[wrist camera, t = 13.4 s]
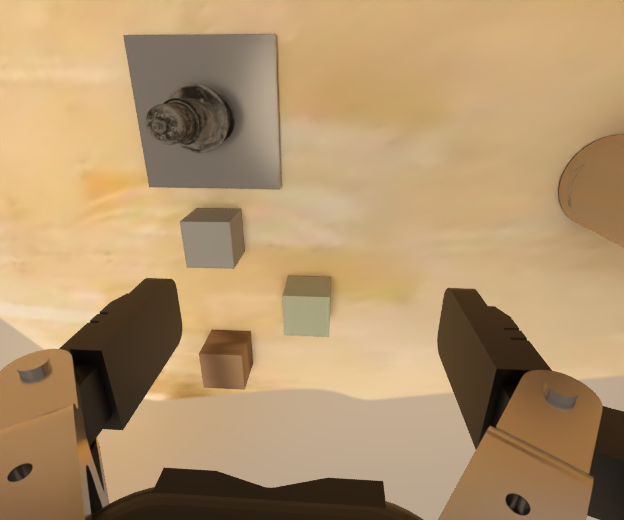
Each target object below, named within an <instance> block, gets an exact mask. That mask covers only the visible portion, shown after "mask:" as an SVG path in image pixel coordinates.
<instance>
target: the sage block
mask: <svg viewBox="0 0 624 520" xmlns="http://www.w3.org/2000/svg"><path fill="white" fill-rule="evenodd" d="M330 288H331V277H319V276H288V279H287V282H286V286H285V289H284V293H283V320H284V335H289V336H314V337H329V323H330Z"/></svg>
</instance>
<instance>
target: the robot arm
mask: <svg viewBox="0 0 624 520" xmlns="http://www.w3.org/2000/svg"><path fill="white" fill-rule="evenodd" d="M559 201H560V204H561V206H562V209H563V210H564V212H565V213H566V215H567V216H568V217H570V218H571V219H572V220H573V221H575V222H577V223H579V224H581V225H583V226H585V227H586V228H588V229H590V230H592V231H594V232H596V233H597V234H599V235H601V236H603V237H605V238H607V239H609V240H611V241H612V242H614V243H616V244H618V245H620V246H622V247H624V135H613V136H608V137H605V138H602V139H600V140H597V141H595V142H593V143H592V144H590V145H588V146H586V147H585V148H584V149H583V150H581V151H580V152H579V153H578V154H577V155H576V156H575V157H574V158H573V159H572V161H571V162H570V163H569V164H568V166H567V168H566V169H565V171H564V173H563V176H562V178H561V181H560V186H559ZM181 336H182V320H181V313H180V307H179V301H178V294H177V288H176V284H175V282H174V281H173V280H172V279H157V278H146V279H144V280H143V281H142V282H141V283H140V284H139V285H138V286H137V287H136V288H135V289H133V290H132V291H131V292H130V293H129V294H126V295H124V296H122V297H120V298H118V299H116V300H114V301H112V302H110V303H109V304H108V305H107V306H106V307H105V308H104V309H103V310H102V311H100V314H97V315H96V316H95V317H94V318H93V319H92V320H90V323H87V324H86V325H85V326H84V327H83V328H82V329H80V330H79V331H78V332H77V333H76V334H75V335H74V336H73V337H72V338H70V339H69V340H68V341H67V342H66V343H65V344H64V345H63V346H61V347H60V348H59V349H47V350H41V351H37V352H34V353H30V354H28V355H25V356H23V357H20V358H18V359H16V360H15V361H13V362H11V363H10V364H8V365H7V366H6V367H4V368H3V369H2V370H1V371H0V520H423V519H421V518H420V517H418V516H417V515H415V514H413V513H412V512H410V511H408V510H406V509H404V508H402V507H400V506H398V505H395V504H393V503H390V502H387V501H385V494H384V486H383V481H371V480H355V479H338V478H325V479H319V480H313V481H309V482H303V483H297V484H292V485H286V486H281V487H276V488H266V487H262V486H259V485H256V484H253V483H250V482H247V481H244V480H242V479H239V478H236V477H233V476H230V475H227V474H224V473H221V472H218V471H208V470H207V471H206V470H192V469H176V468H164V469H163V471H162V473H161V475H160V477H159V479H158V481H157V483H156V486H155V487H154V488H148V489H145V490H142V491H138V492H135V493H133V494H130V495H128V496H125V497H123V498H120V499H118V500H116V501H114V502H112V503H111V504H109V500H108V494H107V488H106V483H105V476H104V470H103V464H102V458H101V452H100V446H99V443H98V440H97V436H98V434H99V433H100V432H101V431H102V429H113V430H123V429H124V428H125V426H126V424H127V423H128V421H129V420H130V418H131V417H132V415H133V414H134V412H135V410H136V409H137V408H138V406H139V404H140V403H141V401H142V400H143V398H144V397H145V395H146V394H147V392H148V391H149V389H150V388H151V386H152V384H153V383H154V381H155V380H156V378H157V377H158V375H159V374H160V372H161V371H162V369H163V367H164V366H165V364H166V363H167V361H168V360H169V358H170V357H171V355H172V354H173V352H174V351H175V349H176V347H177V346H178V344H179V342H180V339H181ZM437 342H438V352H439V356H440V359H441V361H442V364H443V366H444V369H445V371H446V374H447V377H448V379H449V382H450V384H451V387H452V389H453V392H454V395H455V397H456V400H457V402H458V405H459V407H460V410H461V413H462V415H463V417H464V420H465V423H466V425H467V428H468V431H469V433H470V436H471V438H472V441H473V443H474V446H475V449H476V451H475V453H474V455H473V457H472V458H471V460H470V462H469V464H468V466H467V468H466V469H465V471H464V473H463V475H462V477H461V479H460V481H459V482H458V484H457V486H456V488H455V490H454V491H453V493H452V495H451V497H450V499H449V501H448V502H447V504H446V506H445V508H444V510H443V512H442V514H441V515H440V517H439V519H438V520H586V518H587V515H588V516H591V517H594V518H597V519H600V520H624V412H623V411H619V410H615V409H611V408H607V407H604V406H602V403H601V401H600V399H599V397H598V396H597V395H596V394H595V393H594V392H593V391H592V390H591V389H590V388H589V387H587V386H586V385H585V384H583V383H581V382H580V381H578V380H576V379H574V378H572V377H570V376H567V375H565V374H562V373H559V372H555V371H552V370H551V369H550V367H549V366H548V365H547V364H546V362H545V361H544V360H543V358H542V357H541V356H540V355H539V353H538V352H537V351H536V349H535V348H534V347H533V346H532V344H531V343H530V342H529V341H527V338H526V337H525V335H524V334H523V333H522V332H521V331H519V328H518V326H517V325H516V324H515V323H514V321H513V320H512V319H511V317H510V316H508V315H507V314H505V313H504V312H502V311H501V310H499V309H498V308H496V307H494V306H487V305H486V303H485V302H484V300H483V299H482V297H481V296H480V295H479V293H478V292H477V291H476V290H475V289H461V288H447V289H446V291H445V294H444V298H443V305H442V311H441V317H440V324H439V330H438V339H437Z"/></svg>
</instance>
